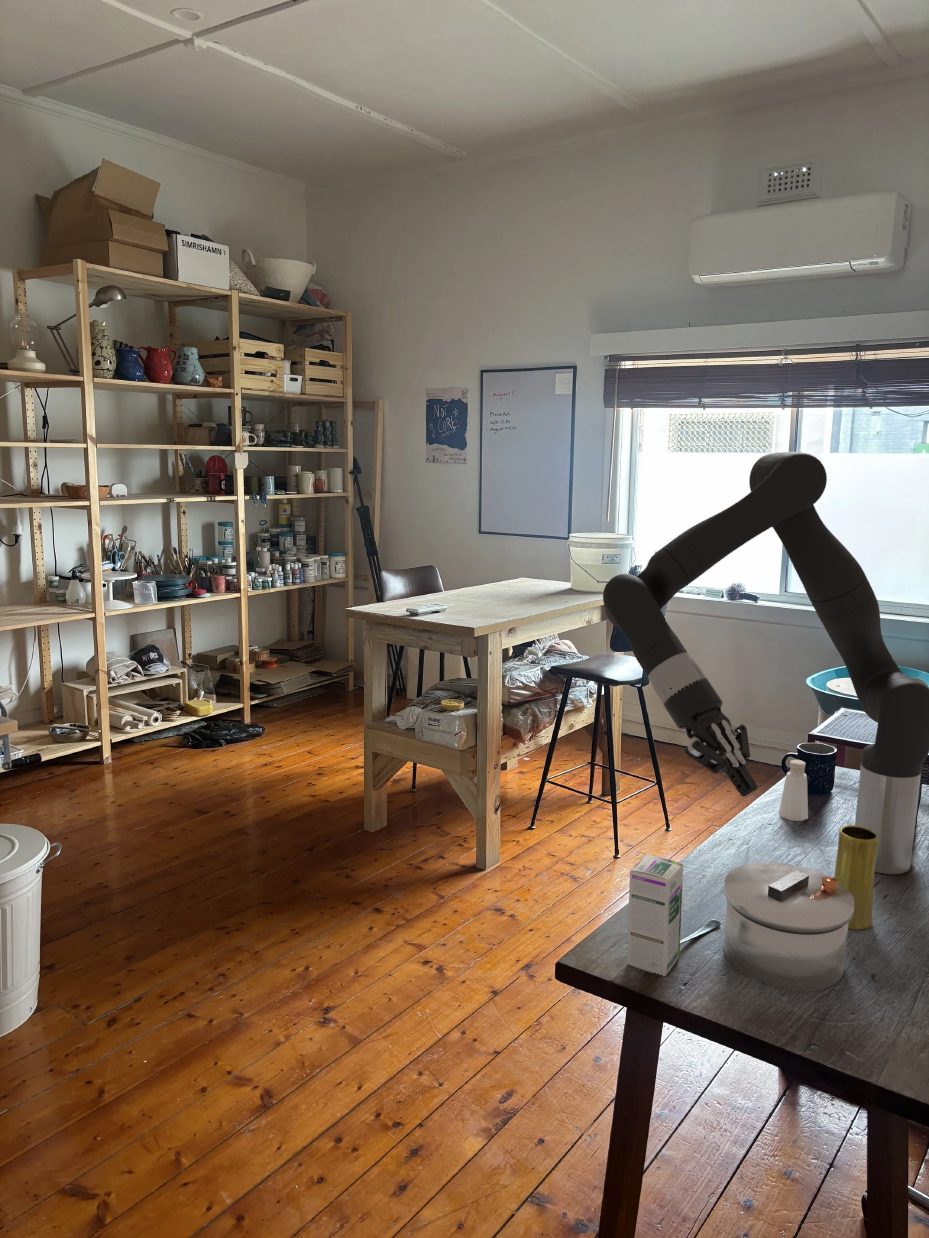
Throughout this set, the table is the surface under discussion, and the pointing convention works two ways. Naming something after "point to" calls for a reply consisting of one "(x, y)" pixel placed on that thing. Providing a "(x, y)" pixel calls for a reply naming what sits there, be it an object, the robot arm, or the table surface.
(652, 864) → the syrup box
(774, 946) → the steel pot
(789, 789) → the pepper shaker
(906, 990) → the table surface
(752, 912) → the pot lid
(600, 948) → the table surface
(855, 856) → the vase
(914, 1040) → the table surface
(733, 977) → the table surface
